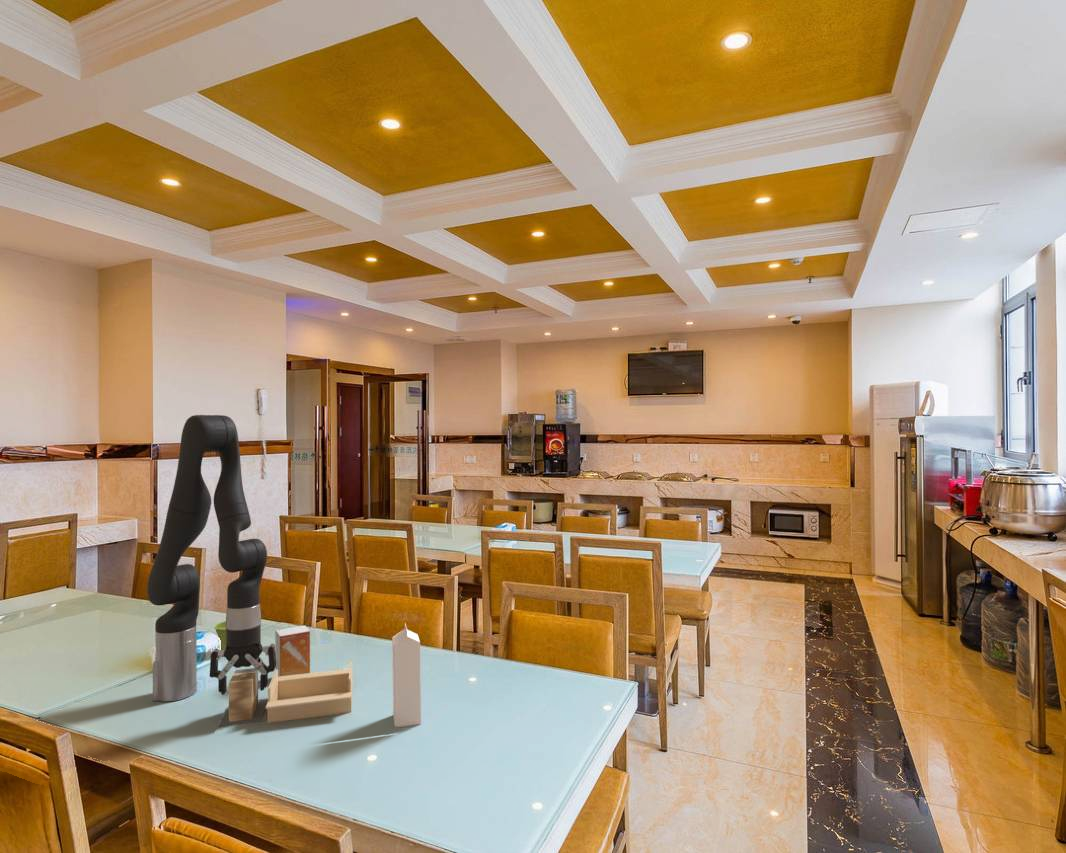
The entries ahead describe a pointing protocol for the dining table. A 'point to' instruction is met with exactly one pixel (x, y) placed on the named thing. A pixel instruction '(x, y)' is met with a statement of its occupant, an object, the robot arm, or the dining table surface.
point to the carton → (310, 694)
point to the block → (243, 694)
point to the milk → (406, 679)
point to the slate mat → (256, 718)
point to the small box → (292, 651)
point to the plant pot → (221, 633)
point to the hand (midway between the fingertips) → (243, 691)
